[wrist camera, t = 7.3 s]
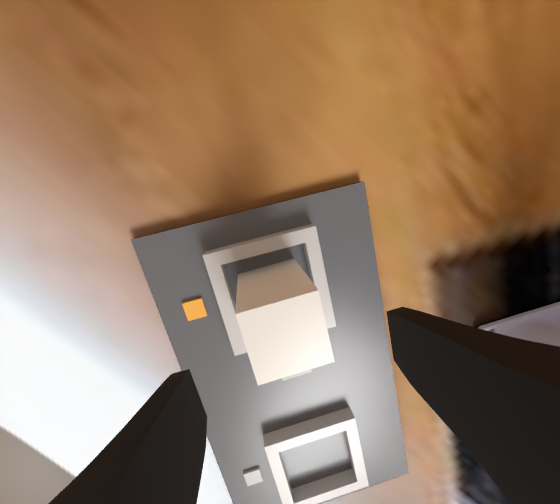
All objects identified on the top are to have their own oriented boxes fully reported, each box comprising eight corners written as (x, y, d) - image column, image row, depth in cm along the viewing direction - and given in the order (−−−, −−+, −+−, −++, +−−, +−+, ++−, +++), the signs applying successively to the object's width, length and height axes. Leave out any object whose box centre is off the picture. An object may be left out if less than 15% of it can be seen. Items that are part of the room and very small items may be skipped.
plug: (294, 258, 16) (318, 290, 11) (307, 315, 17) (336, 369, 12) (237, 274, 16) (235, 314, 11) (254, 330, 17) (260, 392, 12)
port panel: (360, 181, 16) (372, 180, 15) (404, 467, 22) (415, 486, 21) (134, 238, 15) (123, 243, 14) (243, 522, 21) (243, 546, 20)
